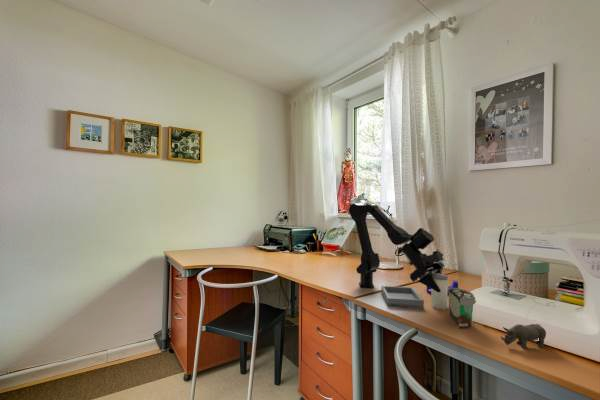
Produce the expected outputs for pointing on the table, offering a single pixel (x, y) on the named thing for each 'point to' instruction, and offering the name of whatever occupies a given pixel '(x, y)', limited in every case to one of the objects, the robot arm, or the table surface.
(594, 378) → the table surface
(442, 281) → the grey round glossy part
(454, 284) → the cable clip
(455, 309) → the food container
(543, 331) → the rhino figurine
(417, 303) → the charcoal tray
